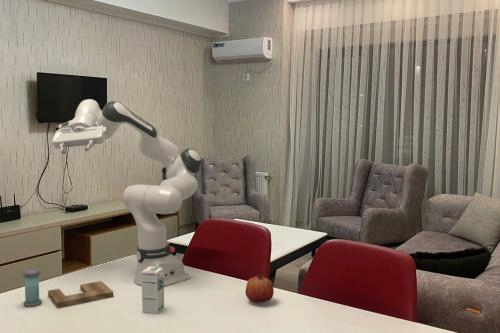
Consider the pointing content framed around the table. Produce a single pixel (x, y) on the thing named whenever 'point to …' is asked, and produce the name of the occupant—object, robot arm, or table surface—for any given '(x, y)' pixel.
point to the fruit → (259, 289)
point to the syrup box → (152, 290)
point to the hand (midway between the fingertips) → (75, 151)
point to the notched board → (81, 295)
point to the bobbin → (31, 287)
